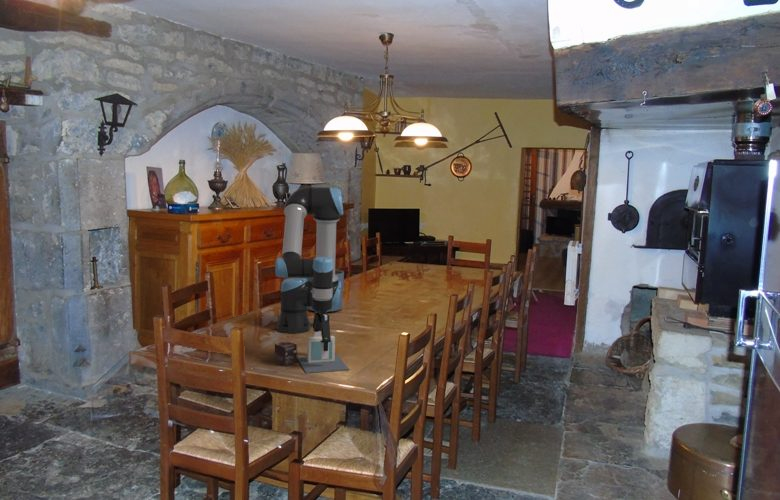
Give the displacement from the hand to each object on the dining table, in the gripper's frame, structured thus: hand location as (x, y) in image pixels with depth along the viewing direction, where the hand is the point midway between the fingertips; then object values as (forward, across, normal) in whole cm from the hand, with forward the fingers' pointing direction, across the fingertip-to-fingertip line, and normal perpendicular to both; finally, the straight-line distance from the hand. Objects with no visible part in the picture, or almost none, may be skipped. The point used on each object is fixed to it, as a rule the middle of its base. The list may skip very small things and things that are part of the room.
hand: (320, 353), depth 235 cm
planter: (+3, -82, +20) cm, 85 cm away
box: (+3, -1, -13) cm, 14 cm away
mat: (+3, +3, 0) cm, 4 cm away
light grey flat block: (+3, 0, 0) cm, 3 cm away
